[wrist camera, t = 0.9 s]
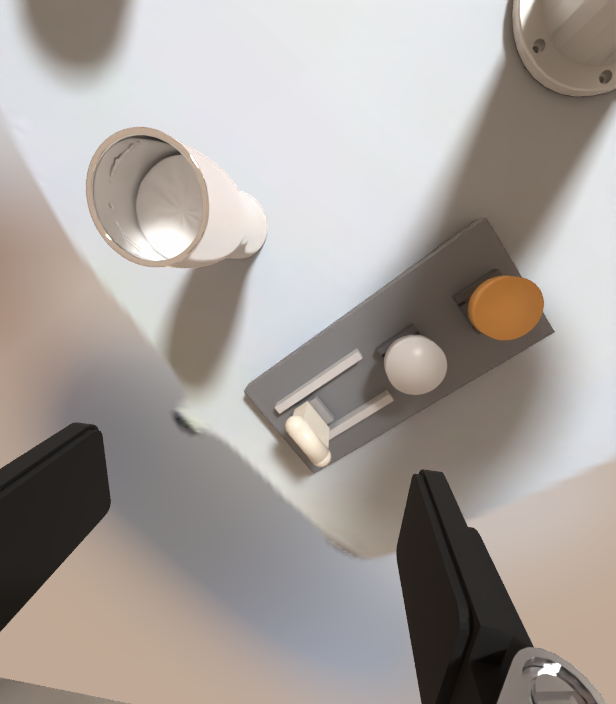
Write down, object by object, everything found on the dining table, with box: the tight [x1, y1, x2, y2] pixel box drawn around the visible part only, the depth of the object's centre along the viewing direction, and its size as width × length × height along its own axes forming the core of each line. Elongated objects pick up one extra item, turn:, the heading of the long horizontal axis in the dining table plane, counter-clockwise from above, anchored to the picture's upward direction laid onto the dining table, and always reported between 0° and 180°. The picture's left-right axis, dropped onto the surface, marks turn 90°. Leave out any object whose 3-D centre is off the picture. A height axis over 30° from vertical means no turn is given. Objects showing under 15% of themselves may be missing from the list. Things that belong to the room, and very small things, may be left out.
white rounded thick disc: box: [384, 335, 447, 395], centre depth 28 cm, size 5×5×3 cm
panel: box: [244, 218, 554, 473], centre depth 31 cm, size 27×12×3 cm, turn 127°
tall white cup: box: [86, 127, 267, 269], centre depth 24 cm, size 7×7×15 cm
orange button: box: [468, 276, 544, 340], centre depth 26 cm, size 5×5×3 cm
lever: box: [285, 395, 334, 467], centre depth 30 cm, size 3×5×6 cm, turn 37°
